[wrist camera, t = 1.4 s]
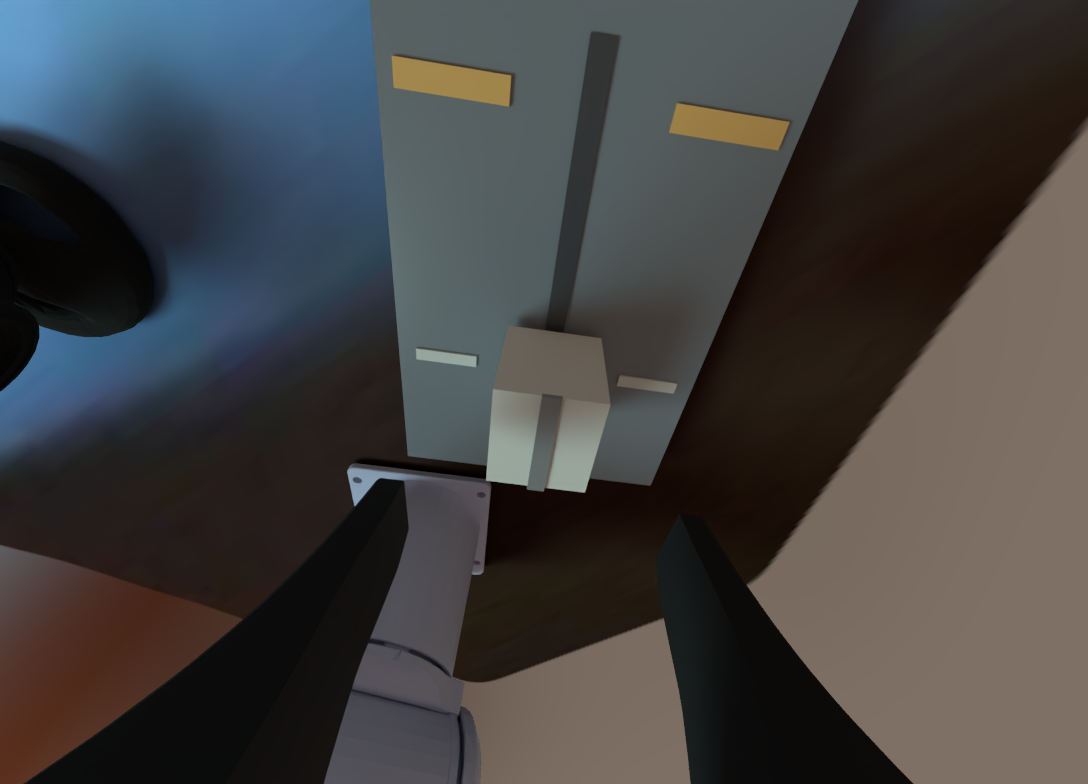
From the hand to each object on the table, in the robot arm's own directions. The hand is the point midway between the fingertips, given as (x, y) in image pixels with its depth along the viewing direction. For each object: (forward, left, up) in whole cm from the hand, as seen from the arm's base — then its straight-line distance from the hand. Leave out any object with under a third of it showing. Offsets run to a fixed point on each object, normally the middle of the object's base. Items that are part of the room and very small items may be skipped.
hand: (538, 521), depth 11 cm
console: (+3, 0, -9) cm, 10 cm away
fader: (0, 0, -7) cm, 7 cm away
